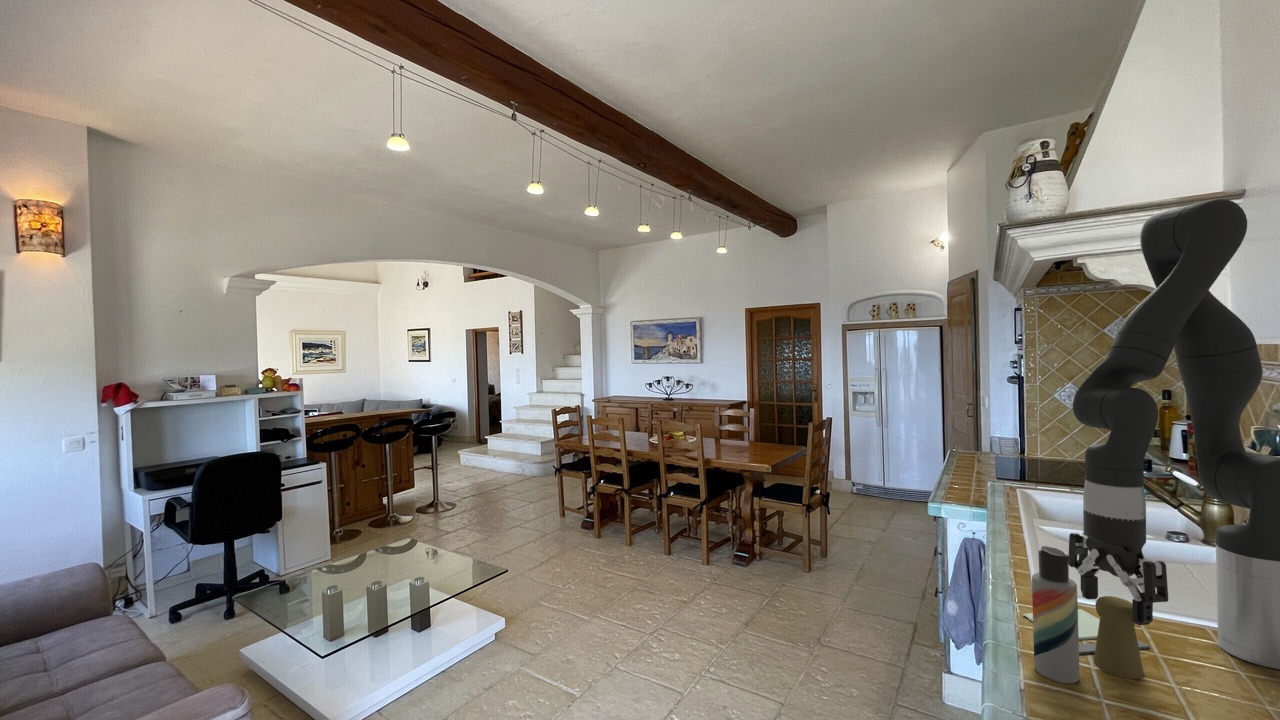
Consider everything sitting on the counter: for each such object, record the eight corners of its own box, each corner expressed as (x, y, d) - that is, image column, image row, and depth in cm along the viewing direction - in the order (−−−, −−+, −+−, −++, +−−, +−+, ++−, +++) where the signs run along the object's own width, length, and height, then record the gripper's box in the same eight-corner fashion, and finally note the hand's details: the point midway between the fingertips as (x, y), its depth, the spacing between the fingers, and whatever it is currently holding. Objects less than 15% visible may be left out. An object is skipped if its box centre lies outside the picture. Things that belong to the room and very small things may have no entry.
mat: (1080, 611, 103) (1080, 609, 103) (1126, 635, 94) (1126, 633, 94) (1022, 615, 102) (1022, 613, 102) (1063, 641, 93) (1063, 638, 93)
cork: (1154, 680, 82) (1152, 610, 81) (1109, 677, 83) (1107, 607, 83) (1126, 658, 87) (1125, 592, 87) (1085, 655, 89) (1083, 590, 89)
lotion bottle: (1035, 658, 88) (1031, 540, 88) (1079, 670, 85) (1076, 547, 84) (1033, 675, 84) (1029, 551, 84) (1079, 689, 80) (1076, 558, 80)
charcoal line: (1138, 641, 92) (1138, 639, 92) (1149, 648, 90) (1149, 646, 90) (1051, 649, 91) (1051, 647, 91) (1061, 656, 89) (1061, 653, 89)
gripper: (1184, 523, 78) (1184, 632, 78) (1094, 497, 92) (1094, 589, 92) (1136, 525, 77) (1137, 635, 78) (1053, 499, 92) (1054, 591, 92)
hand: (1114, 610), depth 85 cm, fingers open, 8 cm apart
